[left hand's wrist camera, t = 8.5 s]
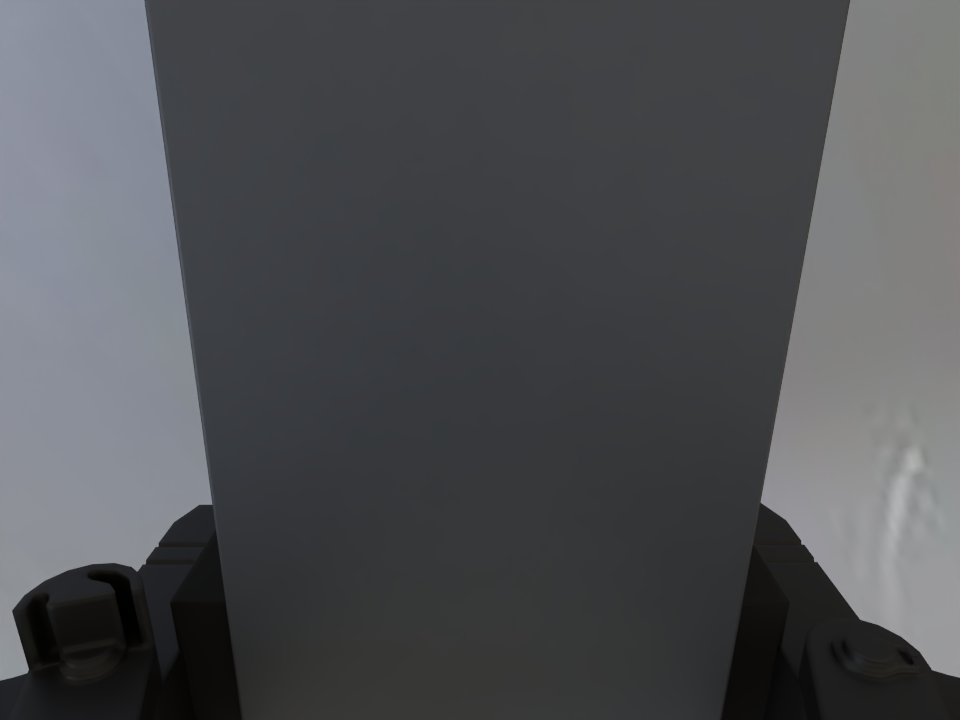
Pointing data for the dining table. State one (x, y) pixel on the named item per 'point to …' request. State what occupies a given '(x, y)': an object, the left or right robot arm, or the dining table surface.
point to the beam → (489, 337)
